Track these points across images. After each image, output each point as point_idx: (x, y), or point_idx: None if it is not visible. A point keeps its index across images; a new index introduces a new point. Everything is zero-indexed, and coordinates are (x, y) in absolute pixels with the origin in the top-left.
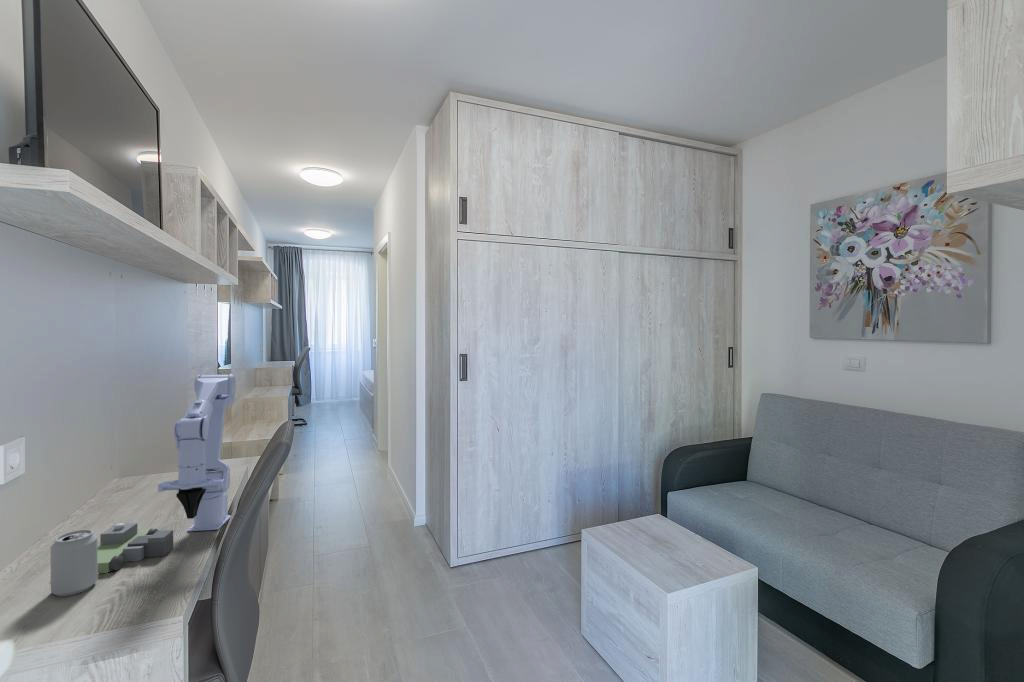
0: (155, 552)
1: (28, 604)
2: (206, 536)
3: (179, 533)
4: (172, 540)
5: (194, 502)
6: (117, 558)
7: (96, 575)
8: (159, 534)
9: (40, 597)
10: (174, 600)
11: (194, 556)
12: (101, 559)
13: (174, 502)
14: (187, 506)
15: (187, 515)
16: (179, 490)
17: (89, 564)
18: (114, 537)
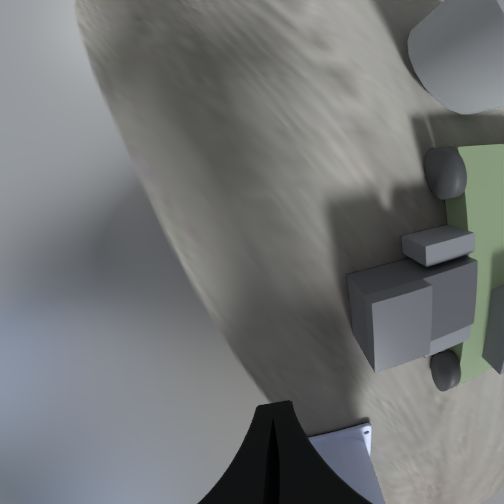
0: (379, 271)
1: None
2: None
3: (387, 411)
4: (361, 344)
5: (220, 488)
6: (448, 160)
7: (425, 68)
8: (407, 327)
9: None
10: (103, 28)
11: (227, 282)
12: (488, 174)
13: (449, 481)
14: (283, 459)
15: (286, 412)
16: None
17: (443, 19)
18: None
